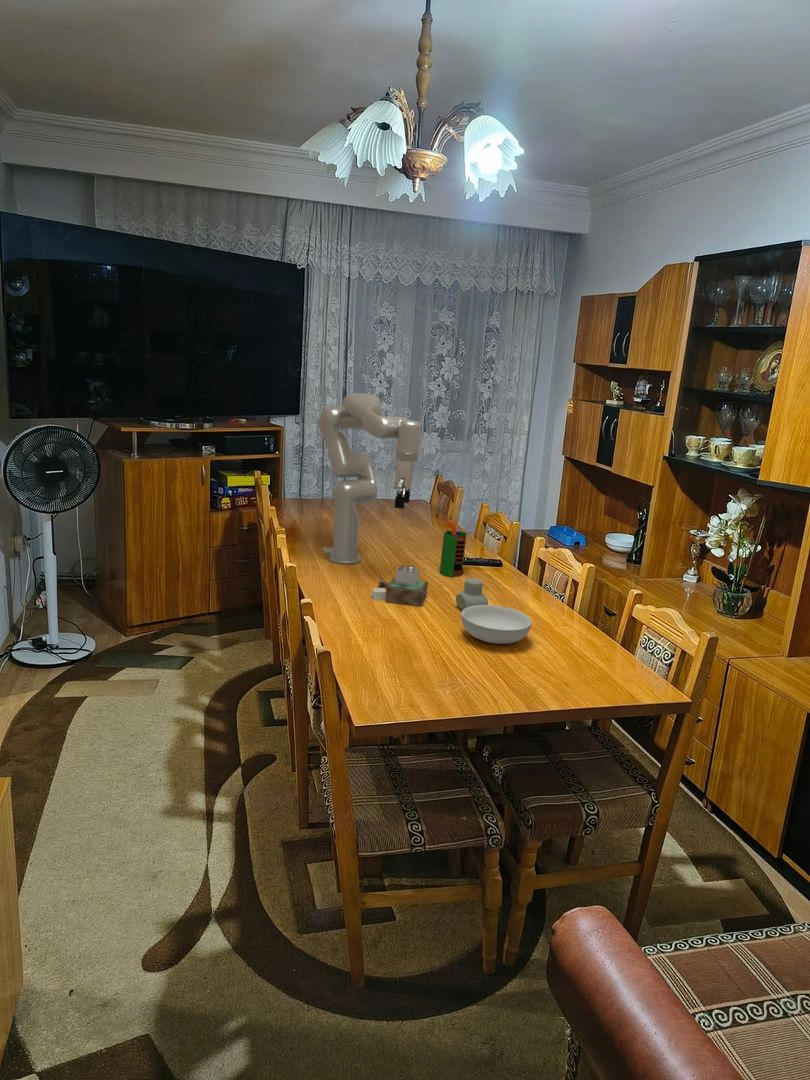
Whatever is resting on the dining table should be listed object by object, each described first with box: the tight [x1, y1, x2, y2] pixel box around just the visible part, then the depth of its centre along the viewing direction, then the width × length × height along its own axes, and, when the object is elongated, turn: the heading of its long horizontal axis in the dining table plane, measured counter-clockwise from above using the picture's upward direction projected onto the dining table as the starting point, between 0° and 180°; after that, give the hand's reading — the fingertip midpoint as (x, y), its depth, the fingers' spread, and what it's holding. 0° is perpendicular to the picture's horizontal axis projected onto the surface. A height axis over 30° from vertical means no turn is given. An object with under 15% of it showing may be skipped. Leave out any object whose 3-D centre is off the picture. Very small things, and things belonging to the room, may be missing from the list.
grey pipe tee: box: [455, 577, 489, 611], centre depth 245 cm, size 11×8×10 cm
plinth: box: [385, 577, 429, 608], centre depth 250 cm, size 12×12×5 cm
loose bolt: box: [378, 578, 390, 588], centre depth 261 cm, size 6×3×3 cm, turn 80°
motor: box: [439, 520, 468, 578], centre depth 282 cm, size 10×9×20 cm
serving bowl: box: [460, 604, 533, 645], centre depth 222 cm, size 21×21×7 cm
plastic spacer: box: [371, 587, 387, 601], centre depth 249 cm, size 4×4×3 cm
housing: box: [395, 564, 420, 587], centre depth 249 cm, size 7×5×6 cm
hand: (401, 505), depth 260 cm, fingers open, 9 cm apart
